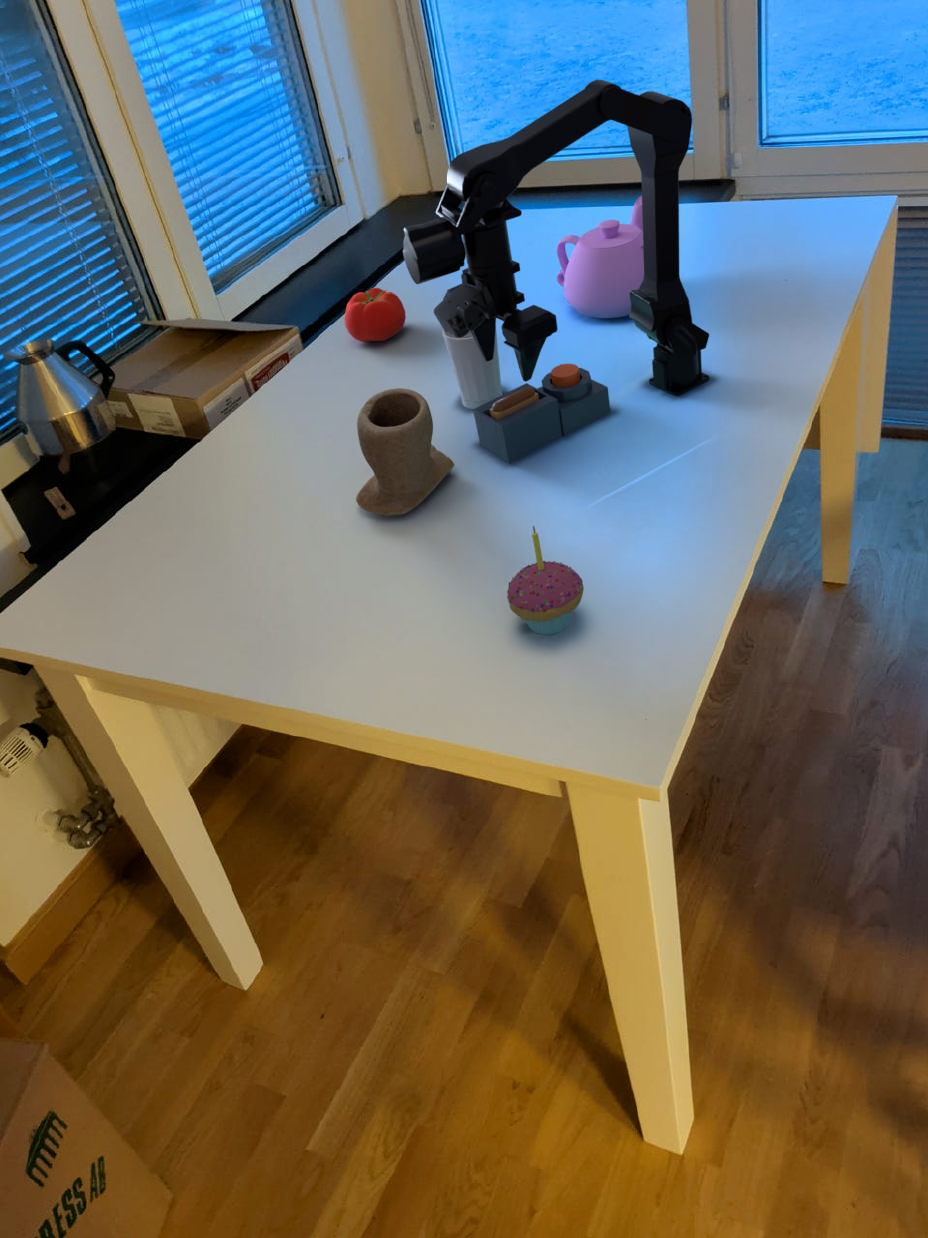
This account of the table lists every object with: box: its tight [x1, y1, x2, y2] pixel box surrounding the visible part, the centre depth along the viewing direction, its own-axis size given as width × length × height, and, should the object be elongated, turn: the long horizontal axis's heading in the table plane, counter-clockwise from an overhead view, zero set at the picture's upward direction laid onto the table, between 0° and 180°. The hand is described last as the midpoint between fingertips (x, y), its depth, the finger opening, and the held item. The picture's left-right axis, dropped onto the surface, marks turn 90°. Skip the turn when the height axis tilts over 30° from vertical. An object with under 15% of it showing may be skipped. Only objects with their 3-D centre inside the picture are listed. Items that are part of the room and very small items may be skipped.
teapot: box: [556, 194, 644, 319], centre depth 177 cm, size 22×22×14 cm
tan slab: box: [490, 387, 539, 421], centre depth 149 cm, size 7×2×6 cm, turn 123°
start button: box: [550, 363, 580, 387], centre depth 150 cm, size 4×4×2 cm
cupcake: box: [506, 525, 584, 636], centre depth 116 cm, size 9×8×12 cm
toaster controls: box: [537, 367, 611, 437], centre depth 152 cm, size 8×8×6 cm
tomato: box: [343, 287, 407, 343], centre depth 186 cm, size 11×11×8 cm
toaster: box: [472, 382, 563, 464], centre depth 149 cm, size 9×7×6 cm
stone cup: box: [355, 387, 455, 517], centre depth 142 cm, size 15×12×15 cm
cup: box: [442, 328, 504, 410], centre depth 159 cm, size 8×8×12 cm
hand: (507, 369), depth 144 cm, fingers open, 9 cm apart
